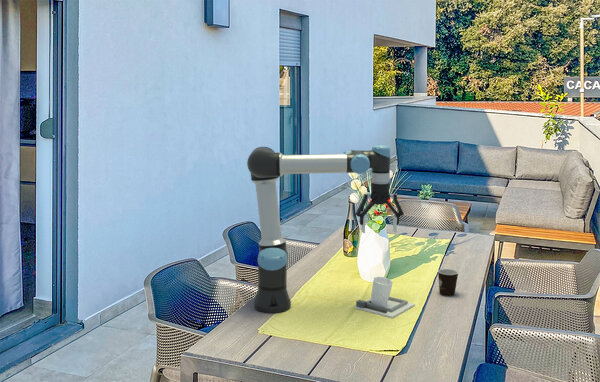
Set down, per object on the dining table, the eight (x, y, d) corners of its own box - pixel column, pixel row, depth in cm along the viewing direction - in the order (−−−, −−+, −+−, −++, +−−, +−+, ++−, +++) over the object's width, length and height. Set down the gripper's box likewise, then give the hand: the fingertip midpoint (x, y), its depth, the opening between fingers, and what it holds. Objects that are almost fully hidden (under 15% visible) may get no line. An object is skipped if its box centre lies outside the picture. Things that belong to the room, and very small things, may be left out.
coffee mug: (457, 297, 270) (458, 275, 268) (437, 296, 272) (438, 274, 270) (456, 289, 281) (457, 267, 280) (436, 288, 283) (437, 266, 281)
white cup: (389, 308, 256) (394, 286, 253) (370, 305, 255) (374, 283, 252) (386, 299, 263) (391, 278, 260) (368, 297, 263) (372, 275, 260)
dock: (354, 308, 257) (354, 301, 256) (377, 296, 271) (377, 290, 270) (392, 318, 246) (392, 311, 245) (414, 305, 260) (414, 299, 259)
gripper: (406, 180, 268) (405, 229, 271) (349, 181, 265) (348, 230, 268) (412, 183, 260) (410, 233, 264) (352, 184, 257) (351, 234, 261)
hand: (379, 232), depth 266 cm, fingers open, 13 cm apart
